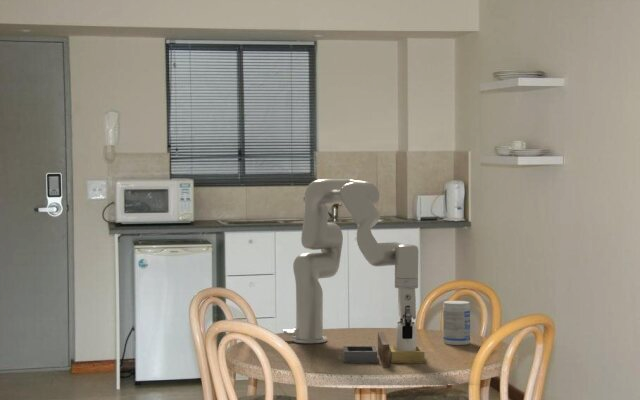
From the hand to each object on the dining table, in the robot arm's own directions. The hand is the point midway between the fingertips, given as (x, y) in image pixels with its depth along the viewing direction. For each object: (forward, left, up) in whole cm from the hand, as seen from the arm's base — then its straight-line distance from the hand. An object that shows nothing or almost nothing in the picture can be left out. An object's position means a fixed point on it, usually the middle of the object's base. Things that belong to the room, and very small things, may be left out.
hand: (405, 335), depth 313 cm
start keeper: (-15, 0, -8) cm, 17 cm away
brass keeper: (0, 0, -8) cm, 8 cm away
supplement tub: (+21, +30, -8) cm, 37 cm away
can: (0, 0, -8) cm, 8 cm away
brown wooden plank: (-7, 0, -8) cm, 11 cm away
